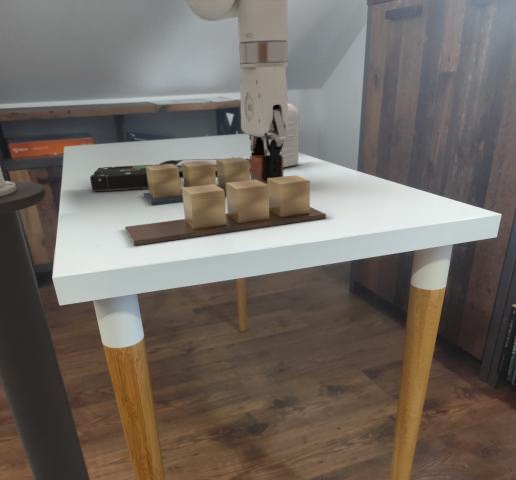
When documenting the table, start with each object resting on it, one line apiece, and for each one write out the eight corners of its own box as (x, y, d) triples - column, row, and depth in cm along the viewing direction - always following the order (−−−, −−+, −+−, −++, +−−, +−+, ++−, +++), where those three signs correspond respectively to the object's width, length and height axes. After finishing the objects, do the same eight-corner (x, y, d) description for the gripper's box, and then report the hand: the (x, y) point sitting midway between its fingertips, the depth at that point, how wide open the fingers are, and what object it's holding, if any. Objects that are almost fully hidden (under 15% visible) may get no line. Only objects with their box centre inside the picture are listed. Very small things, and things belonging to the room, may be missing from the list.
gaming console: (155, 178, 98) (154, 164, 97) (167, 169, 106) (165, 157, 104) (252, 176, 96) (251, 162, 95) (256, 168, 104) (256, 155, 102)
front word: (134, 245, 59) (127, 203, 57) (125, 231, 65) (119, 192, 62) (325, 218, 67) (327, 180, 65) (303, 207, 73) (303, 172, 70)
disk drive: (92, 193, 87) (176, 187, 89) (89, 177, 86) (174, 170, 87) (100, 182, 96) (176, 176, 98) (97, 167, 95) (174, 161, 96)
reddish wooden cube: (260, 186, 84) (259, 159, 82) (250, 181, 87) (249, 155, 85) (283, 183, 85) (283, 156, 83) (273, 179, 89) (273, 153, 87)
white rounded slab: (285, 163, 108) (285, 100, 102) (301, 164, 106) (301, 100, 100) (254, 170, 101) (252, 103, 95) (270, 172, 99) (269, 104, 93)
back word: (151, 205, 77) (147, 172, 75) (143, 196, 83) (139, 165, 80) (290, 188, 85) (290, 158, 82) (274, 181, 90) (273, 152, 88)
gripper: (223, 59, 83) (230, 172, 92) (261, 55, 69) (265, 188, 78) (265, 58, 85) (267, 168, 94) (309, 53, 71) (307, 183, 80)
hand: (266, 176), depth 86 cm, fingers closed on reddish wooden cube, 4 cm apart
